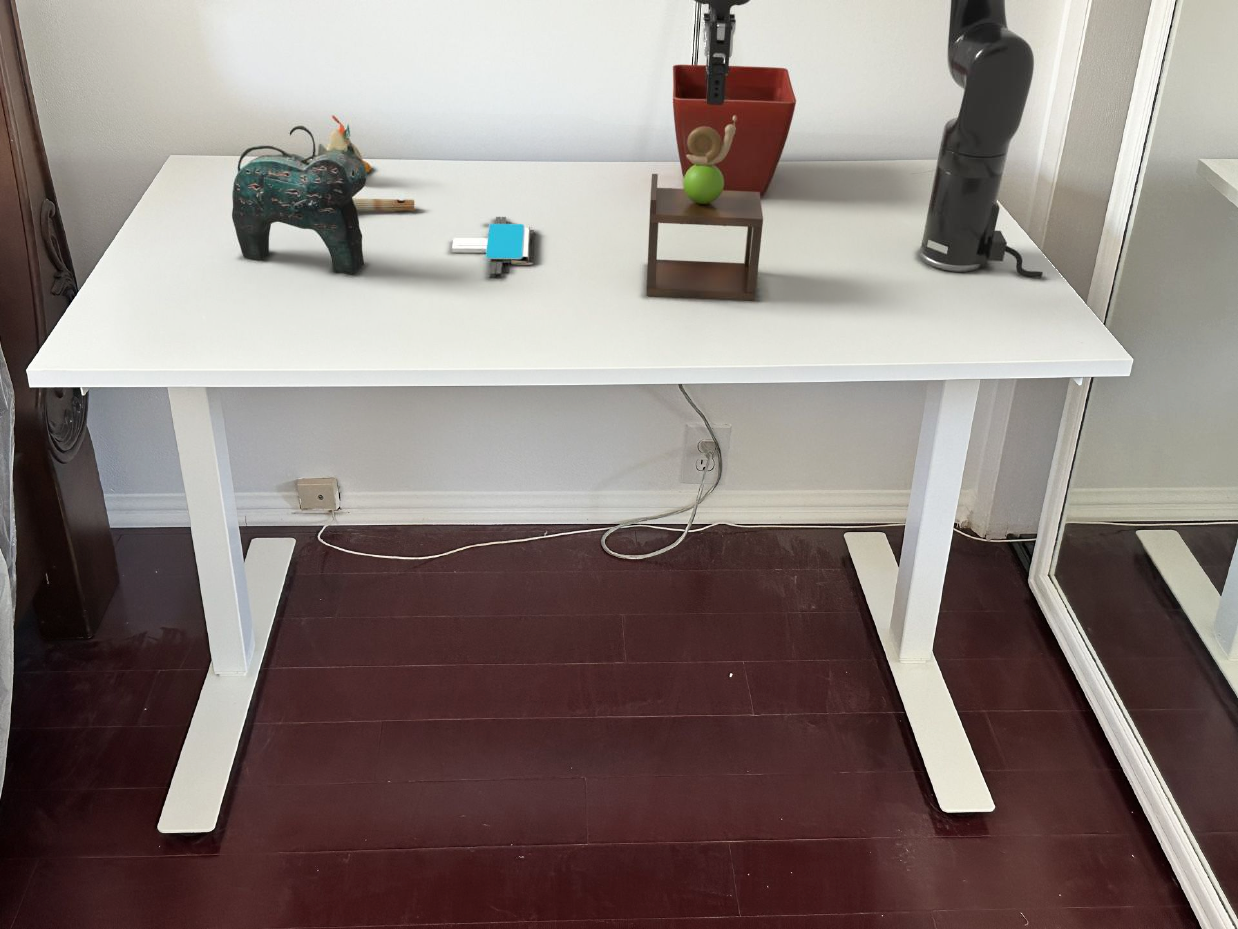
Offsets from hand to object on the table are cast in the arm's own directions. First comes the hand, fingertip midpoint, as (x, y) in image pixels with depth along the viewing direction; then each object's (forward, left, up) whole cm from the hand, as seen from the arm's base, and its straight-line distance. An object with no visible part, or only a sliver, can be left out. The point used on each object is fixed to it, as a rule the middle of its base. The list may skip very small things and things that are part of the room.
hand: (714, 93), depth 150 cm
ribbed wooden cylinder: (+55, -20, -27) cm, 64 cm away
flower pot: (-4, -39, -27) cm, 47 cm away
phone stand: (+31, -9, -27) cm, 42 cm away
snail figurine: (0, 0, -15) cm, 15 cm away
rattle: (+57, -34, -27) cm, 71 cm away
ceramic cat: (+57, -1, -27) cm, 63 cm away
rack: (0, 0, -27) cm, 27 cm away
